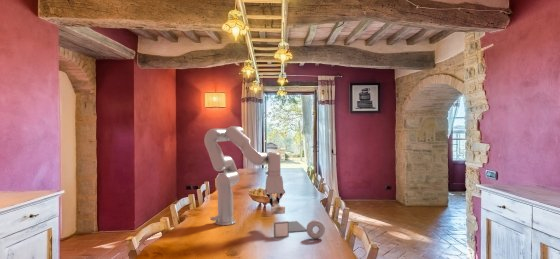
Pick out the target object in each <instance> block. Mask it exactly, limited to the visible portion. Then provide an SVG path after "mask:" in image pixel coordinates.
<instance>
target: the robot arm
mask: <svg viewBox="0 0 560 259" xmlns="http://www.w3.org/2000/svg"><path fill="white" fill-rule="evenodd" d="M203 141H204V146H205V148H206V151H207V153H208V156H209V158H210V162H211V164H212V167H213V169H214V171H216V172H221V173H220V174H218V175H217V176H216V180H215V184H216V187H217V188H216V189H217V190H216V191H217V214H216V216H210V217H209V218H210V221H212V222H213V221H215V222H214V223H215V225H217V226H218V225H219V226H230V225H234V224H236V222H237V221H236V219H234V193H233V192H234V191H233V188H232V187H233V186H236V185H238V183H239V182H240V174H239V172H238V169H237V165H236V163H235V160H234V159H233V157H231V156H230V155H224V153H223V150H222V148H221V146H220V145H219V144H218V142H220V143H221V142H232V144H234V145H235V146H236V147H237V148H239V149H240V151H241V153H242V154H243V156H244V157H245V159H247V160H248V161H249V162H250V163H251V164H253V165H254V166H258V167H259V166H263V165H267V171H265V175H266V179H265V188H264V191H263V195H265V196H266V197H268V202H269V205H270V207H271V206H272V205H273V199H272V195H273V194H276V196H275V198H276V200H277V201H278V203H279V204H280V199H281V197H282V196H283V195H285V193H286V192H285V190H284V180H283V176H282V175H281V153H279V152H268V151H267V152H266V151H261V152H258V151H257V150H256V149H255V148H254V147H252V145H251V141H252V140H251V138H249V137H248V136H247V135H246V134H245V129H244V128H242V127H241V126H238V125H237V126H235V125H231V126H229V127H227V128H216V127H215V128H211V129H209V130H207V132H206V133H205V135H204V140H203Z"/></svg>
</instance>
